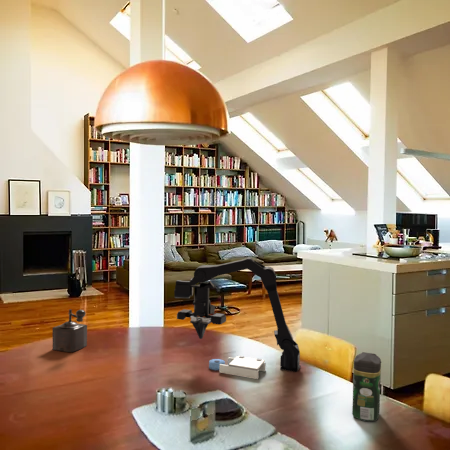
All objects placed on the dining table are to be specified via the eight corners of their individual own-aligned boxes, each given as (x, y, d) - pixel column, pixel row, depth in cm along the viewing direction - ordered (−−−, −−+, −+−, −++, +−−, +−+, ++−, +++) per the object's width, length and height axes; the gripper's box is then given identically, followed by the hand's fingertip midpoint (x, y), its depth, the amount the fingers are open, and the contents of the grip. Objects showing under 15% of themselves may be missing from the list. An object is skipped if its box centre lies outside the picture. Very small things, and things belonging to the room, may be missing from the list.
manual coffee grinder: (50, 350, 200) (50, 307, 199) (67, 342, 210) (67, 302, 209) (81, 355, 194) (81, 311, 193) (97, 347, 205) (97, 305, 203)
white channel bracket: (265, 370, 181) (265, 361, 181) (257, 379, 172) (257, 369, 172) (228, 364, 187) (228, 356, 186) (219, 372, 178) (219, 363, 178)
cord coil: (227, 366, 185) (227, 359, 185) (220, 371, 180) (221, 364, 179) (212, 364, 187) (213, 357, 187) (206, 369, 182) (206, 362, 182)
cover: (264, 361, 181) (264, 359, 181) (257, 370, 173) (257, 367, 173) (237, 357, 185) (237, 355, 185) (228, 365, 177) (228, 363, 177)
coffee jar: (354, 406, 151) (356, 348, 150) (380, 411, 148) (382, 352, 147) (349, 419, 142) (351, 358, 141) (377, 424, 139) (380, 362, 138)
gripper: (231, 297, 188) (231, 336, 189) (189, 292, 196) (188, 330, 197) (220, 302, 178) (220, 344, 179) (176, 297, 185) (175, 337, 186)
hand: (201, 338), depth 186 cm, fingers closed
